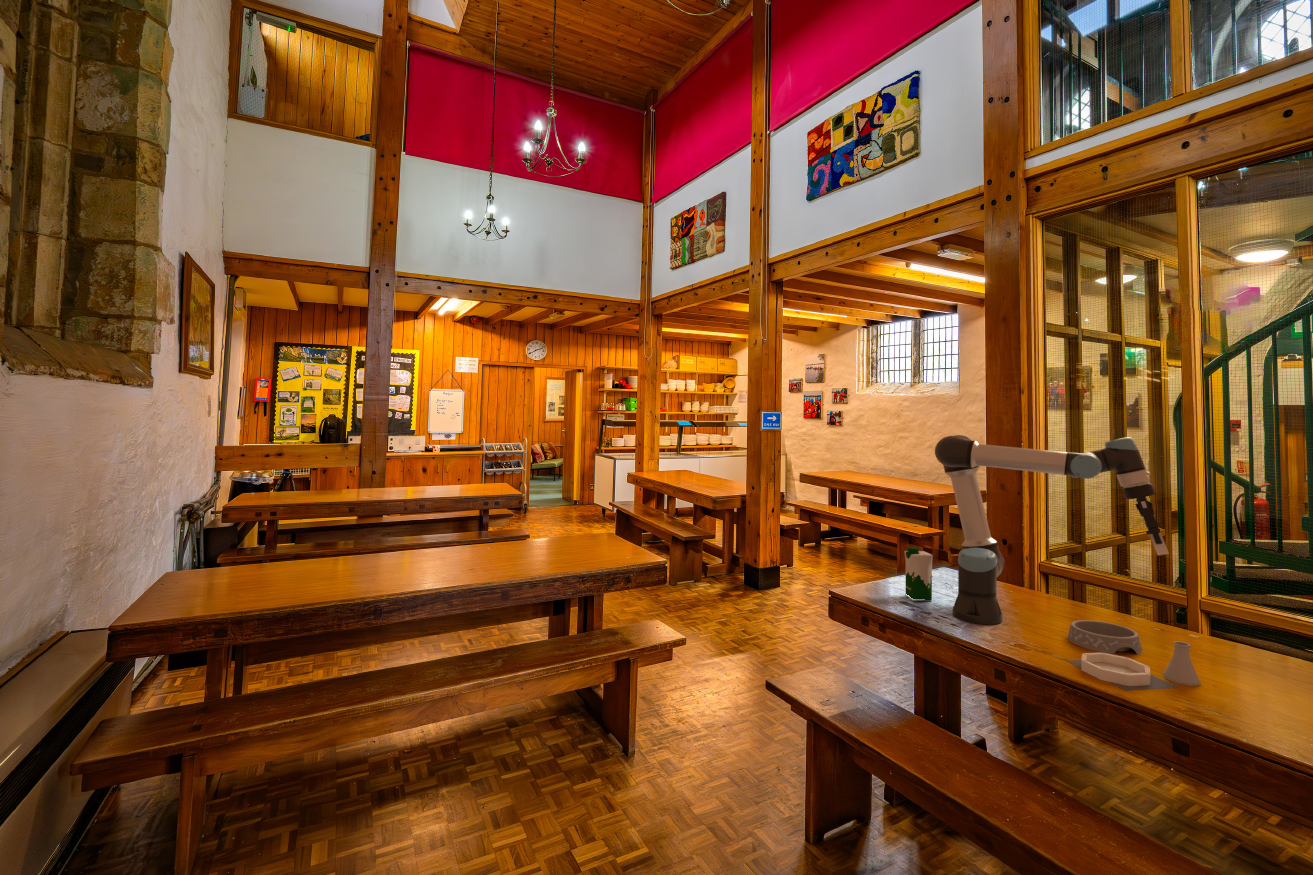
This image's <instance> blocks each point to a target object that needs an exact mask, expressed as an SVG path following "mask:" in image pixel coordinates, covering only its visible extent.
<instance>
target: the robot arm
mask: <svg viewBox="0 0 1313 875" xmlns="http://www.w3.org/2000/svg"><path fill="white" fill-rule="evenodd" d="M934 447H935V448H934V455H935V458H936V459H937V461H938V463H939V464H941V465H943V470H944V474H945V475H946V476H948V477H950V482H951V484H952V489H953V493H954V494H953V495H954V498H955V501H956V502H955V503H956V505H957V506H956V507H957V510H958V514H959V519H960V523H961V528H962V532H963V536H964V540H963V542H962V543H961V548H962V549H961V550H960V551H959V552H958V557H957V564H958V569H957V572H958V573H957V574H958V575H957V576H958V578H957V580H958V583H957V584H958V585H957V586H958V587H957V588H958V592H957V593H958V594H957V596H956V599H955V602H954V604H953V607H952V615H953V617H955V616H956V617H957V618H956V617H955V618H956V619H958V618H959V619H958V620H961V621H964V622H968V623H972V624H977V625H998V624H999V625H1000V624H1001V623H1002V622H1003V613H1002V609H1001V607H1000V604H999V601H998V598H997V593H998V592H997V578H998V577H999V576H1000V575H1001V574H1002V572H1003V570H1004V568H1005V558H1004V556H1003V554H1002V553H1001V550H1000V548H999V544H998V541H997V540H996V539H995V538H993V537H992V535H991V530H990V526H989V522H988V518H987V514H986V510H985V506H984V503H983V502H984V501H983V498H982V493H981V489H980V486H979V480H978V477H977V472H978V471H979V469H980V466H981V467H988V468H995V469H997V468H999V469H1007V470H1015V471H1024V472H1025V471H1026V472H1033V473H1042V474H1051V475H1059V476H1060V475H1061V476H1062V475H1063V476H1067V477H1070V478H1073V479H1076V478H1079V479H1088V480H1089V479H1092V478H1095V477H1097V476H1098V475H1099V474H1101V473H1105V472H1110V471H1114V472H1115V475H1116V477H1117V480H1118V482H1119V486H1120V487H1123V488H1122V492H1123V495H1124V498H1125V499H1126V500H1135V499H1136V502H1137V503H1135V508H1136V509H1137V511H1138V512H1139V514H1140V517H1142V518H1143V520H1144V524H1145V526H1146V528H1147V531H1145V533H1146V535H1149V537H1150V539H1151V542H1152V545H1153V547H1154V549H1155V552H1156V555H1157V556H1163V555H1164V556H1165V555H1169V554H1170V552H1169V550H1168V548H1167V545H1166V542H1165V540H1164V537H1163V534H1162V532H1161V530H1160V529H1161V528H1159V527H1160V523H1159V522H1157V521H1156V518H1155V511H1154V506H1153V504H1152V503H1153V502H1152V501H1149V500H1148V499H1147V497H1152V496H1155V495H1156V491H1155V488H1154V486H1153V484H1152V483H1149V482H1150V481H1151V479H1150V477H1149V475H1151V472H1150V471H1147V470H1146V466H1145V464H1144V460H1143V458H1142V456H1141V453H1140V451H1139V448H1138V446H1137V444H1136V441H1135V440H1134V438H1133V437H1131V436H1126V437H1122V438H1117V439H1114V440H1108V441H1106V442H1104V448H1101V449H1097V450H1091V451H1087V452H1082V453H1081V452H1080V453H1079V452H1069V451H1068V452H1067V451H1058V450H1048V449H1038V448H1025V447H1015V446H1006V445H1005V446H1003V445H993V444H982V443H979V442H978V440H972V439H971V438H969V437H968V436H966V435H959V434H957V435H948V436H944V437H942V438H941V439H940V440H939V441H938V442H937V443H936V444H935V446H934Z"/></svg>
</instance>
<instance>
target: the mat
mask: <svg viewBox="0 0 1313 875" xmlns="http://www.w3.org/2000/svg"><path fill="white" fill-rule="evenodd" d="M1081 660H1082V659H1080V660H1079V659H1077V660H1066V662H1068V663H1069V664H1071V665H1074V666H1076V667H1078V668H1079V669H1081ZM1106 682H1108V681H1106ZM1108 683H1110V684H1112V685H1113V686H1115V687H1118V688H1120V689H1122V690H1123V691H1126V692H1127V691H1142V690H1144V691H1145V690H1160V689H1161V690H1162V689H1163V690H1164V689H1180V687H1179V686H1177V685H1175V684H1173V683H1171V682H1168V681H1166V680H1164V679H1161V678H1159V677H1158V676H1155V675H1153V674H1151V673H1150V685H1142V686H1126V685H1122V684H1117V683H1113V682H1108Z"/></svg>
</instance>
